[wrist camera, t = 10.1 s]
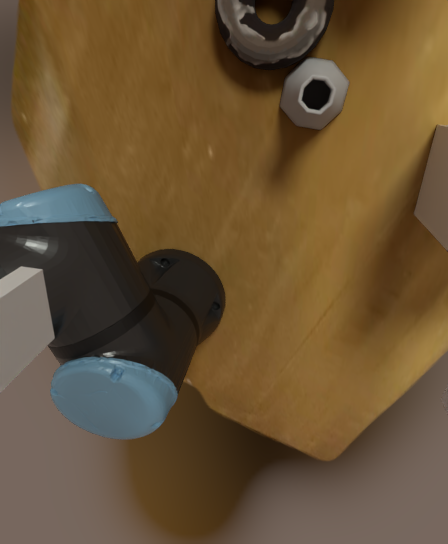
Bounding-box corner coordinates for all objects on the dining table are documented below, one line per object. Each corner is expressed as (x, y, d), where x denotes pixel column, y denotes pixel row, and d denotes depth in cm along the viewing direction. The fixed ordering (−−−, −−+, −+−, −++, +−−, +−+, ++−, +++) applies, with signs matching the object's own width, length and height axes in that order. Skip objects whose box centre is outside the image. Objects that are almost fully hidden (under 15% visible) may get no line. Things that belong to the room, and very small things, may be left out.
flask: (361, 77, 39) (379, 73, 30) (323, 141, 42) (328, 154, 34) (302, 43, 39) (303, 28, 30) (268, 109, 42) (259, 114, 33)
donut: (273, -101, 34) (270, -123, 31) (358, -4, 36) (364, -14, 33) (197, 15, 40) (187, 7, 36) (275, 95, 41) (273, 95, 38)
